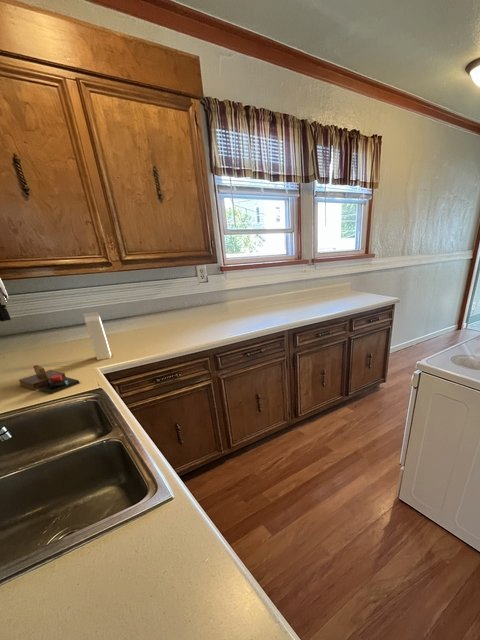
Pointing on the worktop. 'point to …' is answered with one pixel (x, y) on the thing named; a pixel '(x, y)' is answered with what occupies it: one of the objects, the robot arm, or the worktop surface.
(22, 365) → the worktop surface
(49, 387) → the button block
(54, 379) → the button
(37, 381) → the lock plate
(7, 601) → the worktop surface
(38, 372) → the brown rectangular block
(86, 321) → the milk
